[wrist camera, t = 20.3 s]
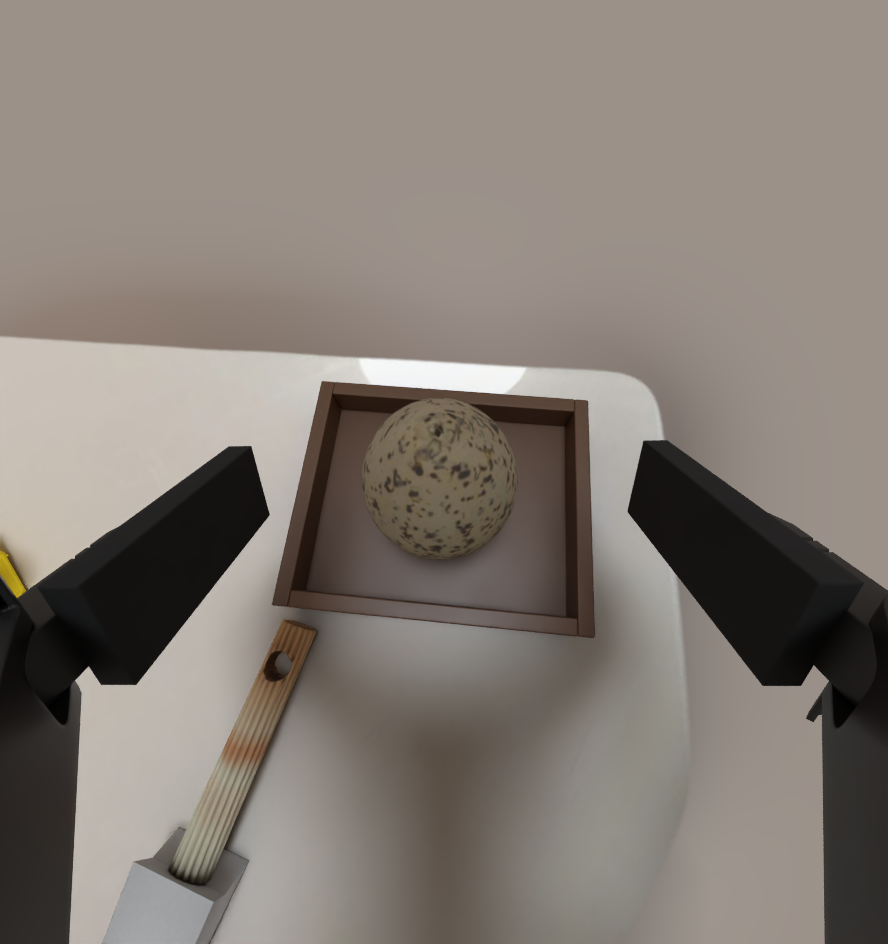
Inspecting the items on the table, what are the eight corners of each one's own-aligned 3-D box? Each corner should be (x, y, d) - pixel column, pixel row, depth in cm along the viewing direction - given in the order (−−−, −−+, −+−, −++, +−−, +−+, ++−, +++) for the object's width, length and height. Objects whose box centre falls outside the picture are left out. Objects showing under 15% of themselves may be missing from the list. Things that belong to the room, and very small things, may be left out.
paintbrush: (-49, 1225, 12) (258, 612, 19) (36, 1120, 15) (280, 613, 22) (45, 1296, 12) (327, 640, 19) (117, 1175, 14) (341, 637, 21)
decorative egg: (514, 459, 23) (558, 360, 13) (491, 580, 21) (525, 564, 11) (399, 435, 23) (362, 325, 14) (365, 550, 21) (296, 511, 12)
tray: (572, 423, 24) (588, 400, 22) (575, 632, 21) (595, 638, 18) (336, 405, 25) (321, 380, 22) (295, 604, 21) (271, 605, 18)
